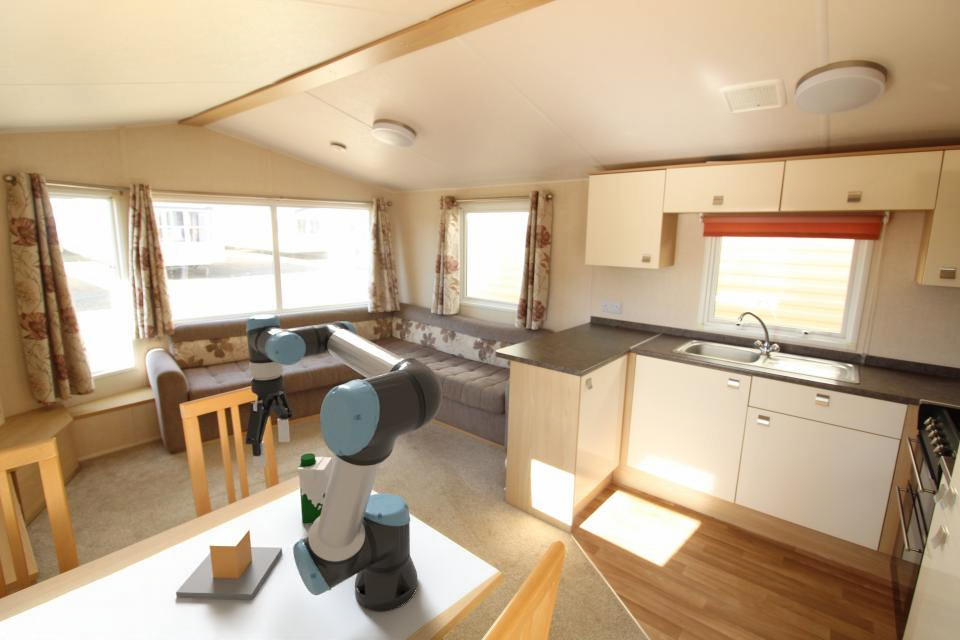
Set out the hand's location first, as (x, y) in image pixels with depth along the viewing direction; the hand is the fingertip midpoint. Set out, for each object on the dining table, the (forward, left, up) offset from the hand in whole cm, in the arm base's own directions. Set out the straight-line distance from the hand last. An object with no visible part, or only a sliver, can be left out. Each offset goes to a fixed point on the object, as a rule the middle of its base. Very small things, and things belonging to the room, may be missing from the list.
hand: (272, 453), depth 117 cm
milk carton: (-5, -15, -29) cm, 33 cm away
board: (+8, +9, -29) cm, 31 cm away
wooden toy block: (+8, +9, -27) cm, 30 cm away
